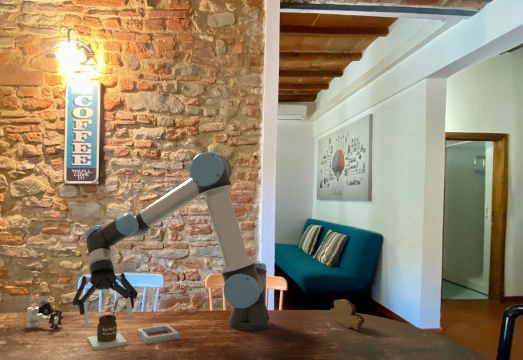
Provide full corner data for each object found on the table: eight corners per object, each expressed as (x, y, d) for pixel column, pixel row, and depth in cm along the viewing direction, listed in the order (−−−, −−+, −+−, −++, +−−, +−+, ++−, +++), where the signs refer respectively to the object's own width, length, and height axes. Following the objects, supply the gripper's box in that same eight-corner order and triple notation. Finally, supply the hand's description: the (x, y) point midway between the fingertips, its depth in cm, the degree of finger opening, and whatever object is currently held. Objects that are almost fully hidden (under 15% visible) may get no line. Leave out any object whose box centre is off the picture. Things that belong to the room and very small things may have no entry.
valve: (20, 329, 148) (50, 332, 145) (21, 309, 148) (51, 312, 146) (33, 323, 154) (63, 326, 152) (34, 305, 154) (64, 307, 152)
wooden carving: (368, 332, 153) (368, 304, 154) (359, 334, 151) (359, 305, 151) (335, 320, 167) (336, 294, 167) (327, 322, 164) (327, 295, 165)
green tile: (119, 335, 143) (119, 332, 143) (126, 344, 135) (126, 341, 135) (87, 340, 138) (87, 336, 138) (93, 350, 130) (93, 346, 130)
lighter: (31, 325, 160) (24, 312, 160) (34, 323, 162) (27, 310, 162) (52, 312, 160) (44, 299, 160) (54, 311, 162) (47, 298, 162)
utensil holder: (93, 339, 136) (94, 301, 137) (111, 334, 141) (112, 298, 141) (102, 343, 132) (103, 304, 133) (120, 338, 137) (122, 301, 137)
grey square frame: (167, 329, 151) (167, 324, 151) (178, 338, 141) (179, 333, 141) (137, 334, 145) (137, 328, 145) (146, 344, 136) (146, 338, 136)
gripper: (135, 268, 157) (145, 320, 143) (60, 274, 144) (64, 331, 130) (139, 256, 152) (151, 308, 139) (63, 260, 139) (68, 319, 126)
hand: (109, 320), depth 135 cm, fingers open, 13 cm apart
